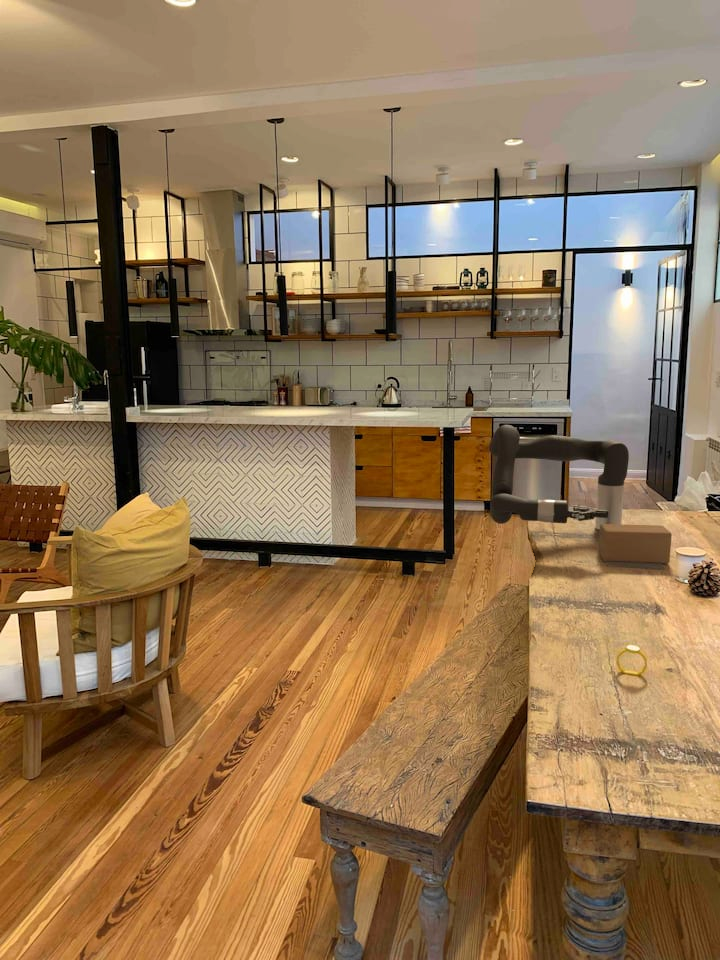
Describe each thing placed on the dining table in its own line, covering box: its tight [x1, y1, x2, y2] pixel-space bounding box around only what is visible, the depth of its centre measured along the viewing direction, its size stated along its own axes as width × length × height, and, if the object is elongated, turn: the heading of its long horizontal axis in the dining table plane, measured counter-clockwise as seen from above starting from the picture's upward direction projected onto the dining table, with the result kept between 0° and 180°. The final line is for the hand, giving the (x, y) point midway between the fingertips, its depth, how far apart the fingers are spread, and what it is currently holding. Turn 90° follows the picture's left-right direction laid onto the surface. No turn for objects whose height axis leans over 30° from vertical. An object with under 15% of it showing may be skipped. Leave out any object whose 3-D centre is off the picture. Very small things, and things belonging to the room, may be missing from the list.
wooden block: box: [598, 523, 672, 564], centre depth 233 cm, size 10×10×20 cm
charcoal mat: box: [605, 561, 666, 571], centre depth 232 cm, size 15×17×1 cm
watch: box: [616, 644, 648, 677], centre depth 153 cm, size 6×3×6 cm, turn 67°
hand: (608, 514), depth 231 cm, fingers closed
